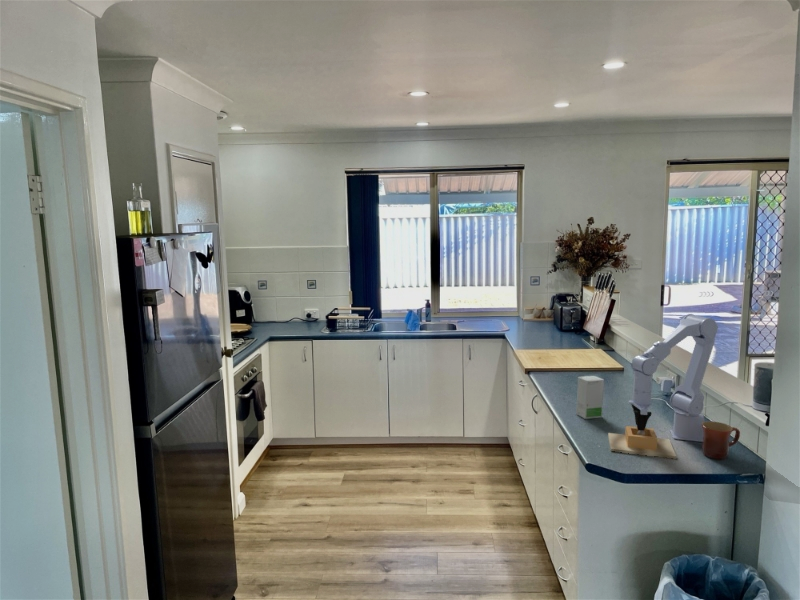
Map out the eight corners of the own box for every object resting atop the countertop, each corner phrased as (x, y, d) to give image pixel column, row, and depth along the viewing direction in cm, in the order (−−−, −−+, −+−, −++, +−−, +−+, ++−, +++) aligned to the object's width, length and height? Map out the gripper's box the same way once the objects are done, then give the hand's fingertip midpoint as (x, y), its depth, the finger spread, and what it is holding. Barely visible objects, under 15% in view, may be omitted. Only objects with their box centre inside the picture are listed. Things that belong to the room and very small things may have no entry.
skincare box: (584, 419, 207) (586, 381, 204) (574, 413, 213) (576, 376, 211) (603, 417, 209) (605, 379, 207) (592, 411, 215) (594, 374, 213)
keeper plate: (668, 442, 185) (670, 426, 184) (676, 459, 172) (677, 442, 171) (608, 435, 191) (608, 420, 190) (610, 451, 178) (611, 435, 177)
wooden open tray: (652, 439, 185) (653, 428, 184) (656, 450, 176) (657, 438, 176) (625, 436, 188) (625, 426, 187) (627, 446, 179) (628, 435, 178)
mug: (709, 462, 170) (712, 431, 168) (693, 450, 178) (696, 421, 177) (746, 461, 170) (748, 431, 169) (728, 449, 179) (731, 420, 177)
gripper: (627, 383, 190) (625, 418, 192) (632, 395, 177) (629, 434, 179) (649, 384, 188) (646, 420, 190) (655, 397, 174) (652, 436, 177)
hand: (640, 427), depth 184 cm, fingers open, 4 cm apart
